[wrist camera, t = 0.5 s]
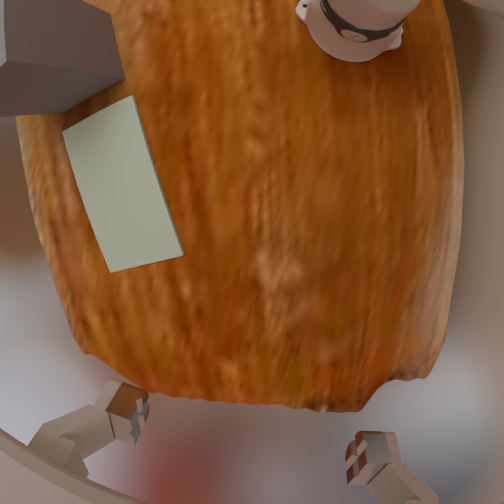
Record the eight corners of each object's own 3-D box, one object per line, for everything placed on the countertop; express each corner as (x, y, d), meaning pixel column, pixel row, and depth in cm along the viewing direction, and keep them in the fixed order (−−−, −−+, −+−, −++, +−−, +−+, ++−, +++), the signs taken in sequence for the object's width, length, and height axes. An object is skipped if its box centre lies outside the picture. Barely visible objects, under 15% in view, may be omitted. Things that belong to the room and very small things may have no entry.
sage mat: (184, 253, 61) (183, 255, 60) (112, 270, 64) (110, 272, 64) (134, 95, 50) (132, 94, 49) (64, 131, 54) (62, 132, 53)
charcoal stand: (125, 78, 49) (6, 60, 21) (64, 112, 52) (-52, 124, 25) (110, 14, 44) (4, -29, 16) (51, 51, 47) (-56, 39, 19)
